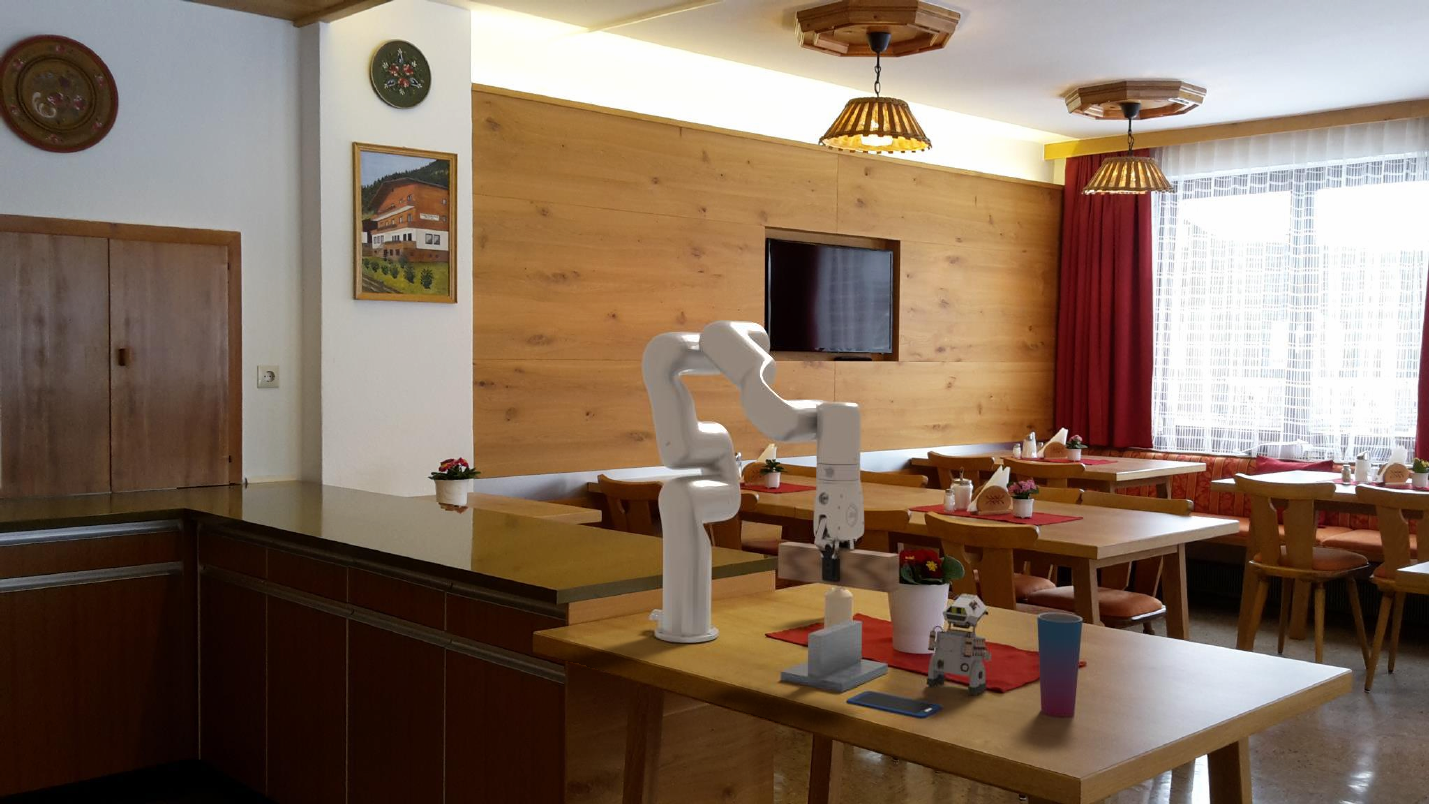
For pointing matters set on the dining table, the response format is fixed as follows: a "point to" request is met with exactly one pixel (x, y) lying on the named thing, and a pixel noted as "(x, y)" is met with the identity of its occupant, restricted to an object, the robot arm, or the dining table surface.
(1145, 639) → the dining table surface
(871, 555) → the wooden block
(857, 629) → the ridge stand
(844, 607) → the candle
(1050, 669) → the cup
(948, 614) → the figurine
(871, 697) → the cell phone
